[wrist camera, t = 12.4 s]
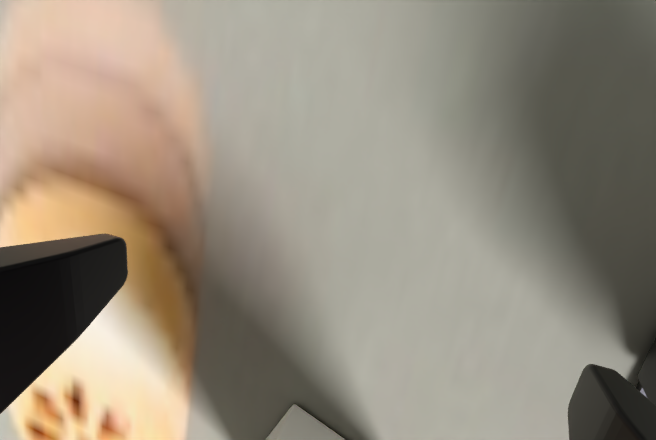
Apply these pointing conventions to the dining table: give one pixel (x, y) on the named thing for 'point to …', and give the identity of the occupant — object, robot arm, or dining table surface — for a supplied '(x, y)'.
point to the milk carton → (301, 427)
